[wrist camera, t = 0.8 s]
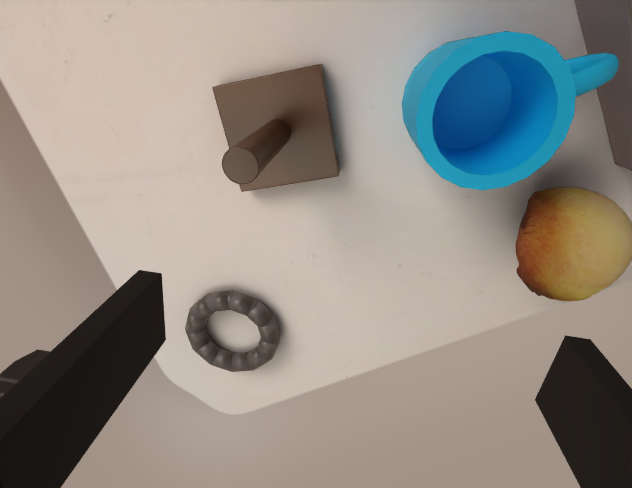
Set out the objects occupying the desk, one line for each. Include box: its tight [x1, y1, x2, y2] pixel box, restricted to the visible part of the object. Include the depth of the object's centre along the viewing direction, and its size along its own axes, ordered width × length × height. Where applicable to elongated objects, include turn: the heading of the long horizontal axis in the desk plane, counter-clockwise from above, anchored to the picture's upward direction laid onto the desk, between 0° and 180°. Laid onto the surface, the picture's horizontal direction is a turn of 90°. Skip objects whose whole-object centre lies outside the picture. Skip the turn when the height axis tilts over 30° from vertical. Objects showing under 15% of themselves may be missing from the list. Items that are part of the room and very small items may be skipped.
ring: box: [185, 291, 280, 372], centre depth 39 cm, size 9×9×2 cm
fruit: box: [516, 187, 632, 301], centre depth 28 cm, size 8×8×8 cm
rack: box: [212, 64, 340, 192], centre depth 26 cm, size 8×8×12 cm
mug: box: [402, 31, 619, 190], centre depth 24 cm, size 12×8×8 cm
